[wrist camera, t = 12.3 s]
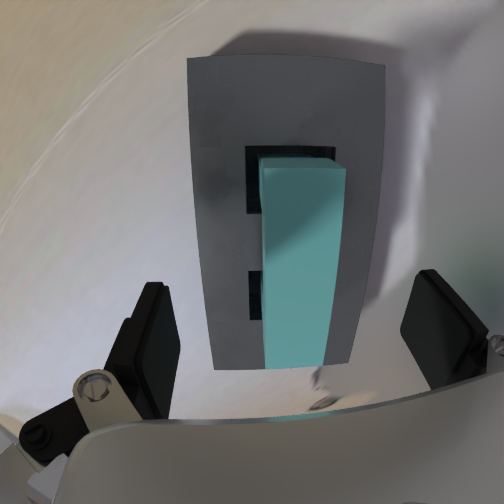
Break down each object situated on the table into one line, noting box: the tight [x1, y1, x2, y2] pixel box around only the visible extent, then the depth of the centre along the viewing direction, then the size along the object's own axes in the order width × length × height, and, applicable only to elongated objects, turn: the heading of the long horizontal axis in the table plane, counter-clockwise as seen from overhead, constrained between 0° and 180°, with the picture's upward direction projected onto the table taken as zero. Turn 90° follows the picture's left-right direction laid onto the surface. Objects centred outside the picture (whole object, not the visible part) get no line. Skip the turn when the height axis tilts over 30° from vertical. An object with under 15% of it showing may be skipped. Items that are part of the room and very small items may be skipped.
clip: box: [258, 153, 346, 369], centre depth 16 cm, size 10×3×8 cm, turn 1°
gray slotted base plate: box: [187, 54, 385, 370], centre depth 18 cm, size 20×10×3 cm, turn 1°
